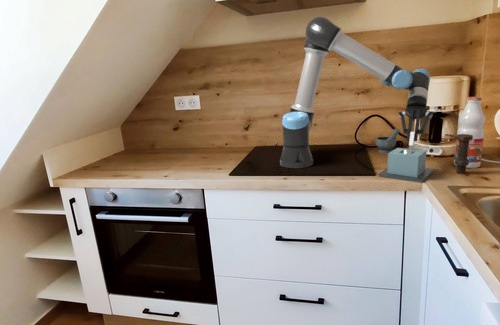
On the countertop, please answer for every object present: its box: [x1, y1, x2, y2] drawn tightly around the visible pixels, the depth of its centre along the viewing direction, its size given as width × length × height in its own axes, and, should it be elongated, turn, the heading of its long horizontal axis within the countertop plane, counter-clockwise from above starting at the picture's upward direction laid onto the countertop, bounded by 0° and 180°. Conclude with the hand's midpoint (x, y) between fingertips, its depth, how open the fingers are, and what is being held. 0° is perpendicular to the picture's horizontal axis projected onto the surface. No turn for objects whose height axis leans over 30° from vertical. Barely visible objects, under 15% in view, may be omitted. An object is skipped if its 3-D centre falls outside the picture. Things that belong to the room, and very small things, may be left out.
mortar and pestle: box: [374, 127, 401, 154], centre depth 172 cm, size 11×9×12 cm
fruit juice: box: [453, 96, 486, 169], centre depth 140 cm, size 9×9×28 cm
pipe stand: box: [377, 148, 434, 184], centre depth 136 cm, size 16×16×10 cm
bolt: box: [454, 134, 473, 175], centre depth 133 cm, size 6×5×15 cm
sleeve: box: [386, 147, 427, 177], centre depth 136 cm, size 11×11×8 cm
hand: (411, 147), depth 137 cm, fingers closed
